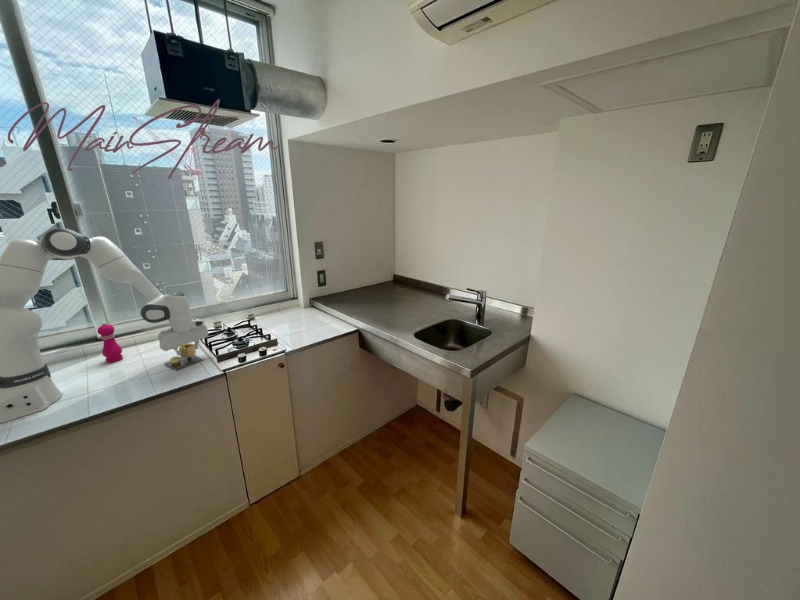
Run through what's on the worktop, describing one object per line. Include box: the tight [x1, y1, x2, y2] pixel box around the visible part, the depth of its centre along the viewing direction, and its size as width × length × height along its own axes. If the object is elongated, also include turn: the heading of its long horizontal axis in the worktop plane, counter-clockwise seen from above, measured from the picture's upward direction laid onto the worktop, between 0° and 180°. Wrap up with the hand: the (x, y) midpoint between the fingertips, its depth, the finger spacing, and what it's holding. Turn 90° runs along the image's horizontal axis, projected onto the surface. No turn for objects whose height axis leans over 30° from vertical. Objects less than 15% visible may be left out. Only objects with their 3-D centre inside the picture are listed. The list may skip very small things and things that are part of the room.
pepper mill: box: [97, 321, 124, 364], centre depth 152 cm, size 7×7×20 cm
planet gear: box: [178, 342, 197, 358], centre depth 153 cm, size 6×6×4 cm
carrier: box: [164, 354, 204, 372], centre depth 151 cm, size 12×11×6 cm
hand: (187, 351), depth 153 cm, fingers closed on planet gear, 6 cm apart
